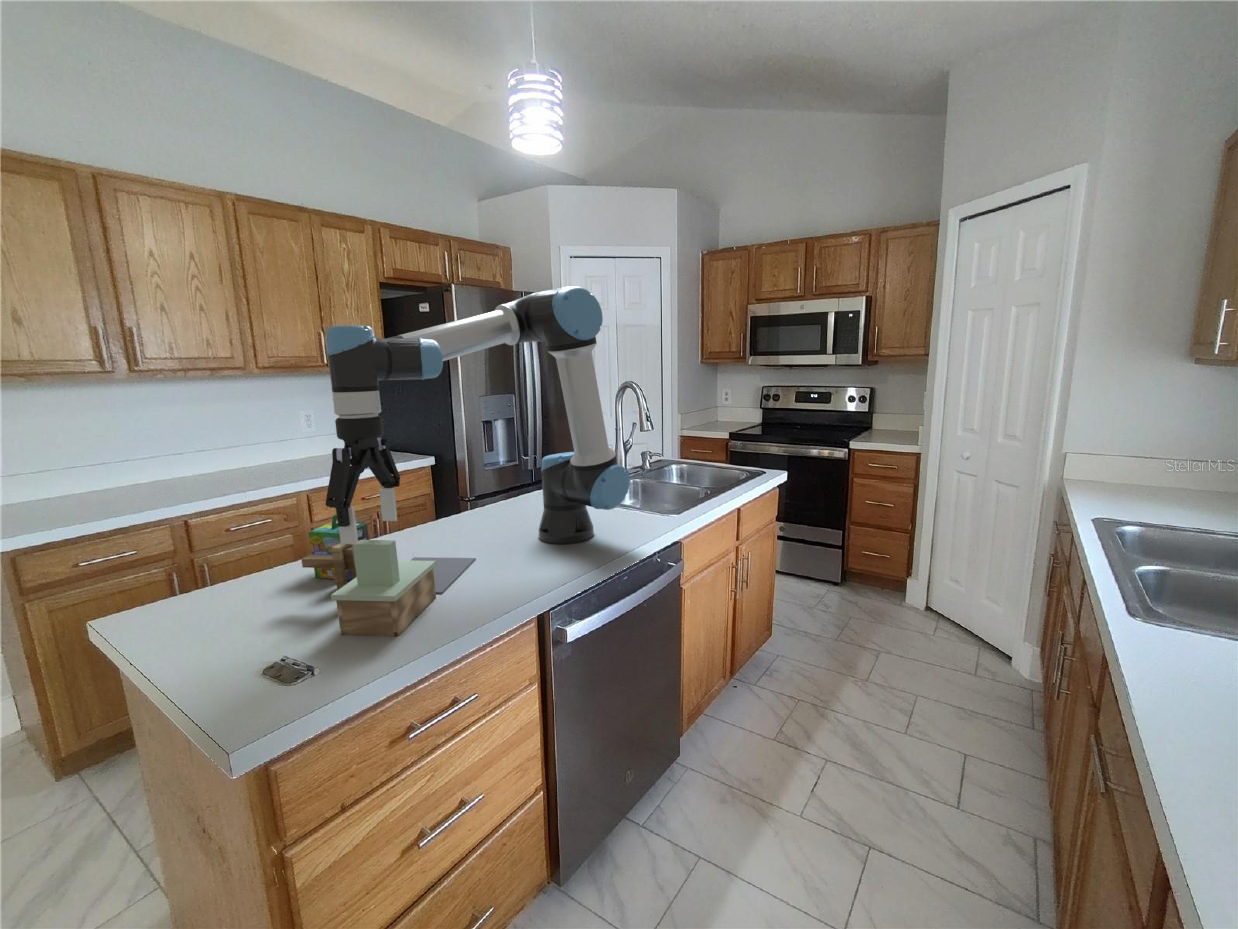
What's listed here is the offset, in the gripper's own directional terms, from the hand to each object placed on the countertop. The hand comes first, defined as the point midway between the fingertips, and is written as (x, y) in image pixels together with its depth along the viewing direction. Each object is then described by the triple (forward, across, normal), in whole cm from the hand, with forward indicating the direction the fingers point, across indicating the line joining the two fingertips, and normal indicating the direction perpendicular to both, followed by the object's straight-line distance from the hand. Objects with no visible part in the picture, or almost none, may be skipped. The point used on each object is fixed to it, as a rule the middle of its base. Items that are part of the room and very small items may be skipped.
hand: (371, 531), depth 101 cm
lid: (+11, -3, 0) cm, 12 cm away
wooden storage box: (+18, -3, -3) cm, 19 cm away
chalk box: (+18, -24, -23) cm, 38 cm away
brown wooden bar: (+10, -7, -14) cm, 18 cm away
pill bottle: (+18, -16, -16) cm, 29 cm away
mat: (+18, -23, -2) cm, 30 cm away
